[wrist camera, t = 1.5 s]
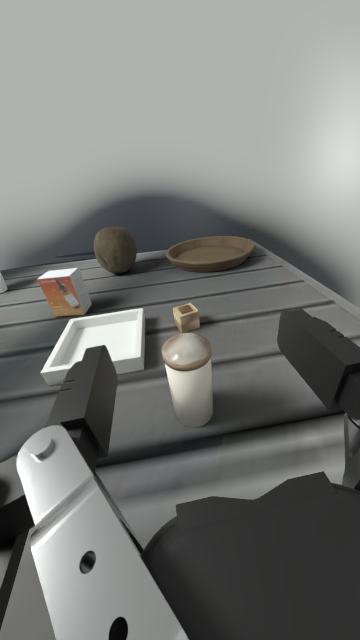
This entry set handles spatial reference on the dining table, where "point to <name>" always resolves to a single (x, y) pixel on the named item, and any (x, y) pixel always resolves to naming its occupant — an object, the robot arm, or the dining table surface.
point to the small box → (65, 292)
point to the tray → (99, 343)
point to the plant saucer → (210, 253)
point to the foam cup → (2, 284)
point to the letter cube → (186, 317)
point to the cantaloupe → (115, 249)
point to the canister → (190, 377)
